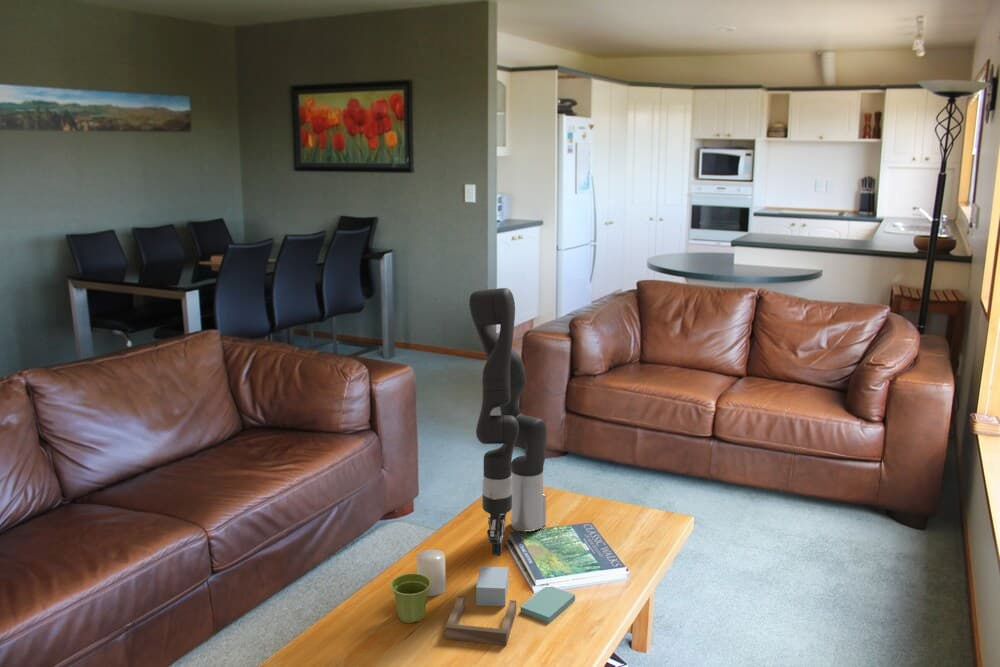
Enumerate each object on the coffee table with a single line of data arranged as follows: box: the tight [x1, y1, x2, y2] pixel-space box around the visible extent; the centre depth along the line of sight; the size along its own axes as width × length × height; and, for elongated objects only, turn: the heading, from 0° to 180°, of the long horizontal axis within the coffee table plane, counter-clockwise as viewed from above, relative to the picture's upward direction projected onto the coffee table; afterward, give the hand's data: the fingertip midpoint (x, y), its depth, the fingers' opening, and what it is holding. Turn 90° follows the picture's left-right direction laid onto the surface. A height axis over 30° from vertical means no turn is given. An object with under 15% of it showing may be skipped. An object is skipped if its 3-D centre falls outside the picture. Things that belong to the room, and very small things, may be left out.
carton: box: [475, 565, 509, 607], centre depth 205 cm, size 10×7×5 cm
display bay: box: [444, 595, 517, 646], centre depth 192 cm, size 14×14×3 cm
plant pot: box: [390, 572, 431, 624], centre depth 195 cm, size 9×9×9 cm
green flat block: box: [520, 585, 576, 624], centre depth 200 cm, size 12×8×2 cm, turn 145°
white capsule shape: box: [416, 548, 447, 597], centre depth 207 cm, size 7×7×9 cm
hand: (497, 554), depth 213 cm, fingers closed
